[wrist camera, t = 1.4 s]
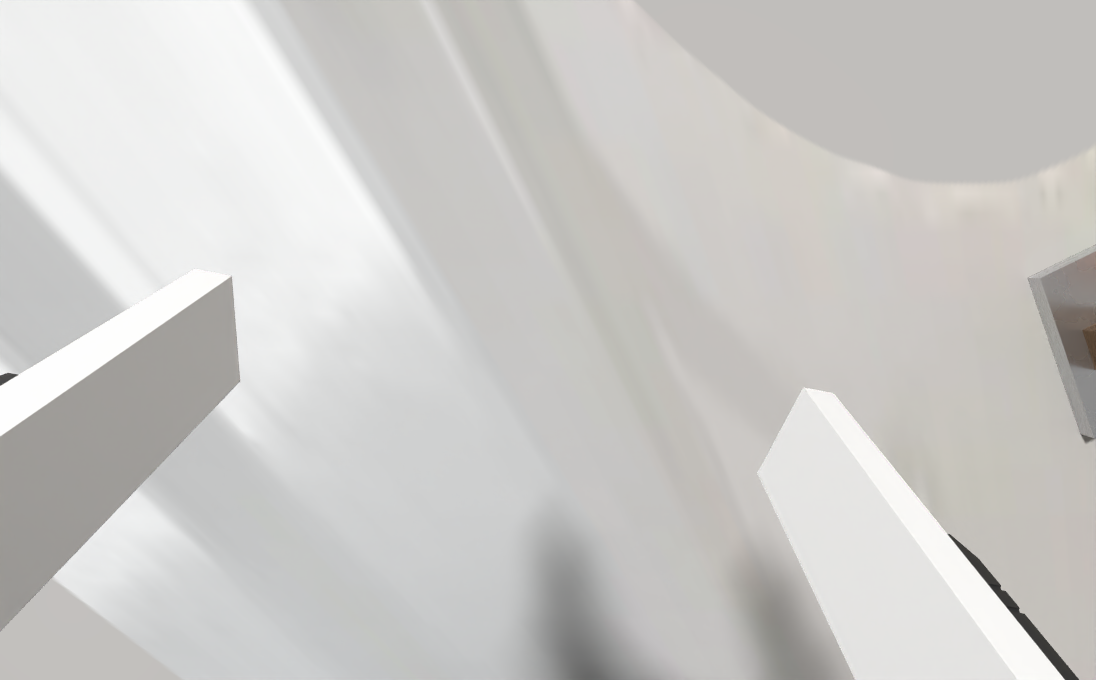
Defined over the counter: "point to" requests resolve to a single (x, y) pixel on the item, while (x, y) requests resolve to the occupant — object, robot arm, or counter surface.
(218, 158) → the counter surface
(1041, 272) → the trowel
